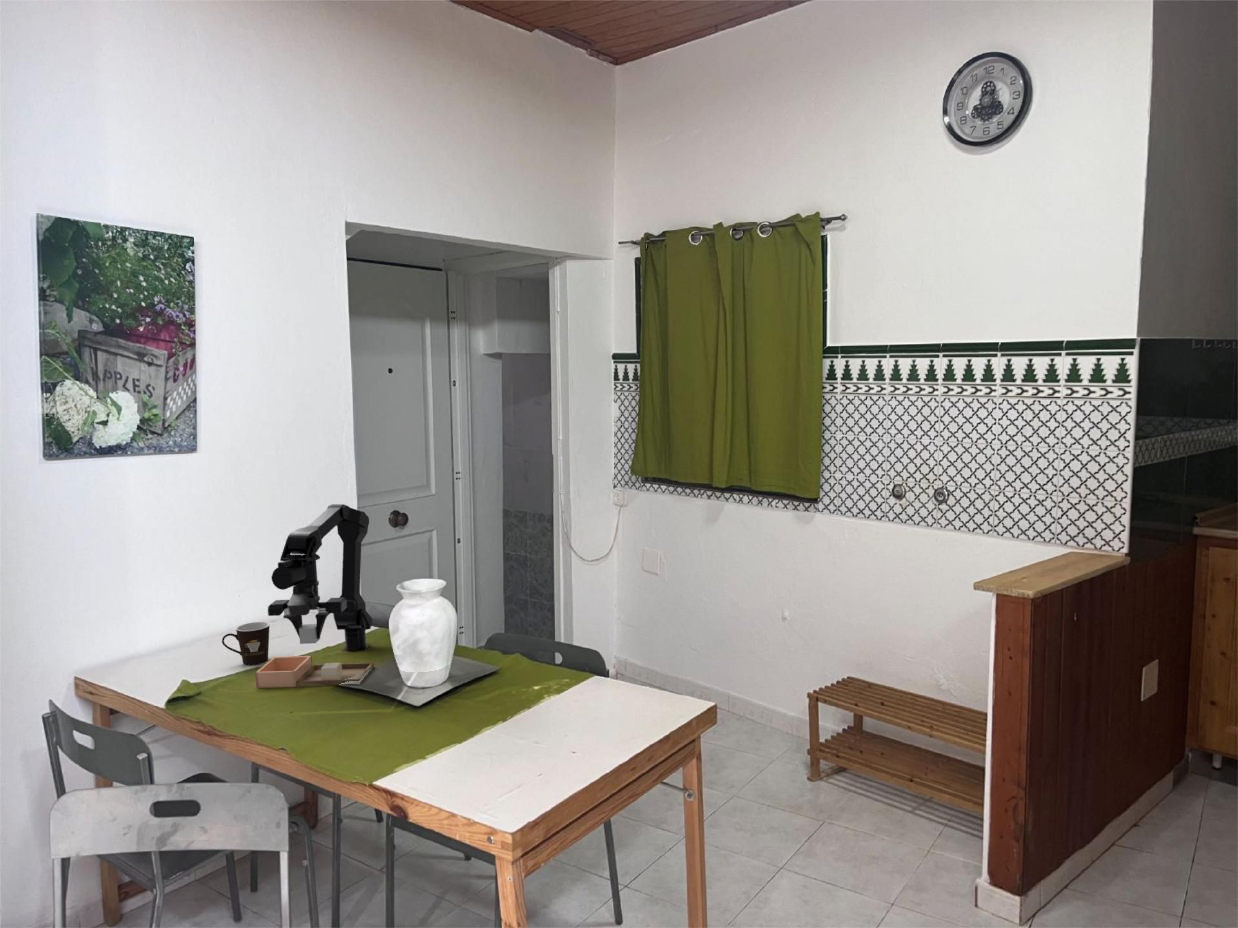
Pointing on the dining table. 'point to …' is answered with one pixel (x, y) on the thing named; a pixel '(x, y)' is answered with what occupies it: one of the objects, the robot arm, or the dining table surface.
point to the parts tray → (348, 670)
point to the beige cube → (331, 671)
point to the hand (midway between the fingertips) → (310, 638)
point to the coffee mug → (252, 642)
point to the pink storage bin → (282, 671)
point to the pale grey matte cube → (308, 634)
